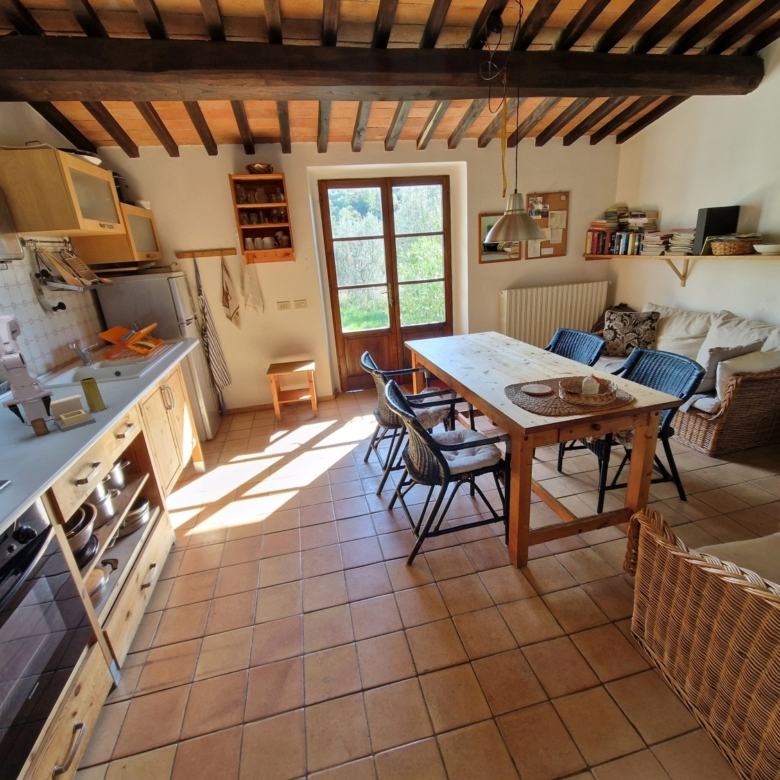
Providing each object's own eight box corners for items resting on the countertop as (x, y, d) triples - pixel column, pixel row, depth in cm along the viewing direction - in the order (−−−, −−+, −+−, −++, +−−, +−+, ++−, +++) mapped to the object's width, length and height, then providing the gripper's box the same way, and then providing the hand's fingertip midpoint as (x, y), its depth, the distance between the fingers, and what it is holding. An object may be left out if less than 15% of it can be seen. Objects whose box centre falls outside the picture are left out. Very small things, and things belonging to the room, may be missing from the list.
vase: (103, 406, 183) (93, 375, 179) (108, 408, 180) (97, 378, 175) (87, 410, 179) (76, 380, 174) (92, 413, 175) (81, 382, 170)
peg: (35, 434, 158) (29, 420, 156) (48, 431, 161) (42, 417, 159) (37, 437, 155) (31, 423, 153) (50, 433, 158) (44, 419, 156)
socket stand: (54, 422, 169) (46, 402, 166) (86, 413, 176) (79, 394, 173) (62, 432, 158) (54, 411, 155) (95, 421, 166) (88, 401, 163)
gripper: (-2, 393, 144) (13, 428, 148) (49, 381, 153) (62, 414, 158) (-4, 389, 148) (10, 424, 153) (45, 378, 158) (58, 410, 163)
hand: (36, 419), depth 156 cm, fingers open, 7 cm apart
